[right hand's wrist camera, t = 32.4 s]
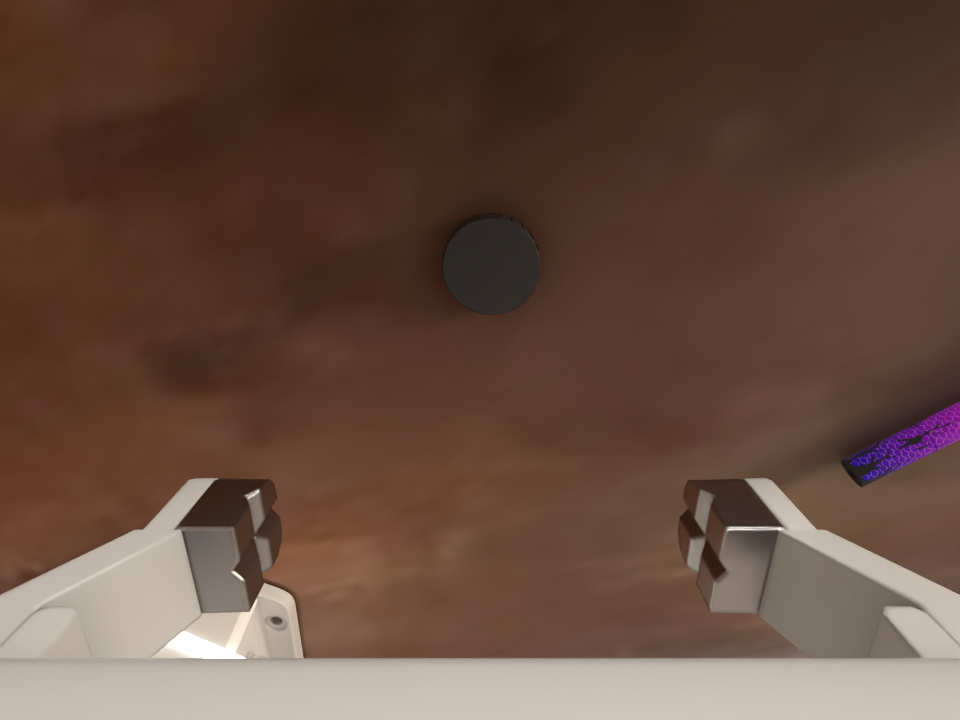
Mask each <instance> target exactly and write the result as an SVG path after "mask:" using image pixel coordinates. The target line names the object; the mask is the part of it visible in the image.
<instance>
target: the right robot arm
mask: <svg viewBox="0 0 960 720" xmlns="http://www.w3.org/2000/svg"><path fill="white" fill-rule="evenodd" d="M276 499H277V495H276V490H275V485H274V483H273V482H272V481H271V480H270V479H227V478H220V479H218V478H195V479H191V480H188V481H187V483H186V484H185V485H184V486H183V487H182V488H181V489H180V490H179V491H178V492H177V493H176V495H175V496H174V497H173V498H172V499H171V500H170V501H169V502H168V503H167V504H166V505H165V507H164V508H163V509H162V510H161V511H160V512H159V513H158V514H157V515H156V516H155V517H154V519H153V520H152V521H151V522H150V523H149V524H148V525H147V526H146V527H145V528H144V529H143V530H133V531H131V532H129V533H127V534H125V535H123V536H121V537H119V538H117V539H115V540H113V541H111V542H109V543H106V544H104V545H102V546H100V547H98V548H96V549H94V550H92V551H90V552H88V553H86V554H84V555H82V556H80V557H77V558H75V559H73V560H71V561H69V562H67V563H65V564H63V565H61V566H59V567H57V568H55V569H53V570H51V571H49V572H46V573H44V574H42V575H40V576H38V577H36V578H34V579H32V580H30V581H28V582H26V583H24V584H22V585H20V586H17V587H15V588H13V589H11V590H9V591H7V592H5V593H3V594H1V595H0V720H960V595H959V594H957V593H955V592H952V591H950V590H948V589H946V588H944V587H942V586H940V585H938V584H936V583H934V582H932V581H930V580H928V579H926V578H924V577H922V576H919V575H917V574H915V573H913V572H911V571H909V570H907V569H905V568H903V567H901V566H899V565H897V564H895V563H893V562H891V561H889V560H886V559H884V558H882V557H880V556H878V555H876V554H874V553H872V552H870V551H868V550H866V549H864V548H862V547H860V546H858V545H856V544H853V543H851V542H849V541H847V540H845V539H843V538H841V537H839V536H837V535H835V534H833V533H831V532H829V531H827V530H817V529H816V528H815V527H814V526H813V525H812V524H811V523H810V522H809V521H808V520H807V519H806V517H805V516H804V515H803V514H802V513H801V512H800V511H799V510H798V509H797V508H796V507H795V505H794V504H793V503H792V502H791V501H790V500H789V499H788V498H787V497H786V496H785V494H784V493H783V492H782V491H781V490H780V489H779V488H778V487H777V486H776V485H775V484H774V482H773V481H771V480H769V479H767V478H747V479H721V480H688V482H687V484H686V486H685V489H684V495H683V499H684V501H685V503H686V504H687V506H688V510H687V511H686V512H685V513H684V514H683V515H682V516H681V517H680V520H679V528H678V537H679V547H680V550H681V553H682V557H683V559H684V561H685V563H686V565H687V567H689V568H690V569H692V570H693V571H694V572H696V573H697V574H698V576H697V582H696V585H697V587H698V589H699V591H700V593H701V594H702V596H703V598H704V600H705V602H706V604H707V606H708V608H709V610H710V612H726V613H759V614H758V616H759V617H760V618H762V619H763V620H764V621H765V622H766V623H768V624H769V625H770V626H771V627H772V628H774V629H775V630H776V631H777V632H779V633H780V634H781V635H782V636H783V637H785V638H786V639H787V640H788V641H789V642H791V643H792V644H793V645H794V646H796V647H797V648H798V649H799V650H800V651H802V652H803V653H804V654H805V655H806V656H808V657H809V658H303V651H302V644H301V638H300V631H299V625H298V618H297V612H296V605H295V601H294V598H293V597H292V596H291V595H290V594H289V593H288V592H286V591H284V590H282V589H280V588H277V587H274V586H272V585H268V584H265V583H264V582H263V576H262V574H263V573H264V572H265V571H267V570H268V569H270V568H271V567H273V565H274V563H275V561H276V559H277V557H278V554H279V549H280V545H281V540H282V527H281V520H280V517H279V516H278V515H277V514H276V513H275V512H274V511H273V510H272V506H273V504H274V503H275V501H276Z"/></svg>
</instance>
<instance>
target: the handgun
mask: <svg viewBox="0 0 960 720" xmlns="http://www.w3.org/2000/svg"><path fill="white" fill-rule="evenodd" d="M958 440H960V402H958V403H956V404H954V405H952V406H950V407H948V408H946V409H944V410H942V411H940V412H938V413H936V414H934V415H932V416H930V417H928V418H926V419H924V420H922V421H920V422H918V423H916V424H914V425H913V426H910V427H908V428H906V429H904V430H902V431H900V432H898V433H896V434H894V435H892V436H890V437H888V438H886V439H884V440H882V441H880V442H878V443H876V444H874V445H872V446H870V447H868V448H866V449H864V450H862V451H860V452H858V453H856V454H854V455H852V456H850V457H848V458H847V459H844V460H842V461H841V463H842V465H843V467H844V469H845V470H846V472H847V473H848V474H849V476H850V477H851V478H852V479H853V480H854V481H855V482H856V483H857V484H858V485H859V486H860V487H864V486H865V485H867V484H870V483H872V482H874V481H876V480H878V479H880V478H882V477H884V476H886V475H888V474H890V473H892V472H894V471H896V470H898V469H900V468H902V467H905V466H907V465H909V464H911V463H913V462H915V461H917V460H919V459H921V458H923V457H925V456H927V455H929V454H931V453H933V452H934V451H937V450H939V449H942V448H944V447H946V446H948V445H950V444H952V443H954V442H956V441H958Z"/></svg>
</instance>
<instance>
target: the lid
mask: <svg viewBox="0 0 960 720" xmlns="http://www.w3.org/2000/svg"><path fill="white" fill-rule="evenodd" d="M533 239H534V238H533V235H532V233H529V232H528V230H527V229H526V228H525V226H524V224H523V223H522V224H520V223H519V222H518V221H516V220H514V218H513V217H511V218H510V217H508V216H505V215H501V213H499V214H489V213H488V212H487V213H486V214H483V215H479V216H476V215H474V217H473V218H471V219H469V220H467V221H466V222H465V221H463V223H462V225H461V226H460V227H459V228H458V229H457V230H454V231H453V234H452V237H451V239H450V241H449V240H448V241H447V244H446V247H447V248H446V251H445V252H444V254H443V257H442V259H443V269H442V271H443V275H444V279H445V283H446V285H447V287H448V289H449V291H450V293H451V294H452V296H453V297H454V298H455V299H456V300H457V301H458V302H459V303H460V304H461V305H463V306H464V307H466V308H468V309H469V310H471V311H474V312H477V313H481V314H487V315H496V314H502V313H506V312H509V311H511V310H514V309H515V308H517V307H519V306H520V305H521V304H523V303H524V302H525V301H526V300H527V299H528V298H529V297H530V295H531V294H532V293H533V291H534V289H535V287H536V285H537V283H538V280H539V276H540V263H541V259H540V257H539V253H538V251H539V248H538V246H537V244H536V245H535V242H534V240H533Z"/></svg>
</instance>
